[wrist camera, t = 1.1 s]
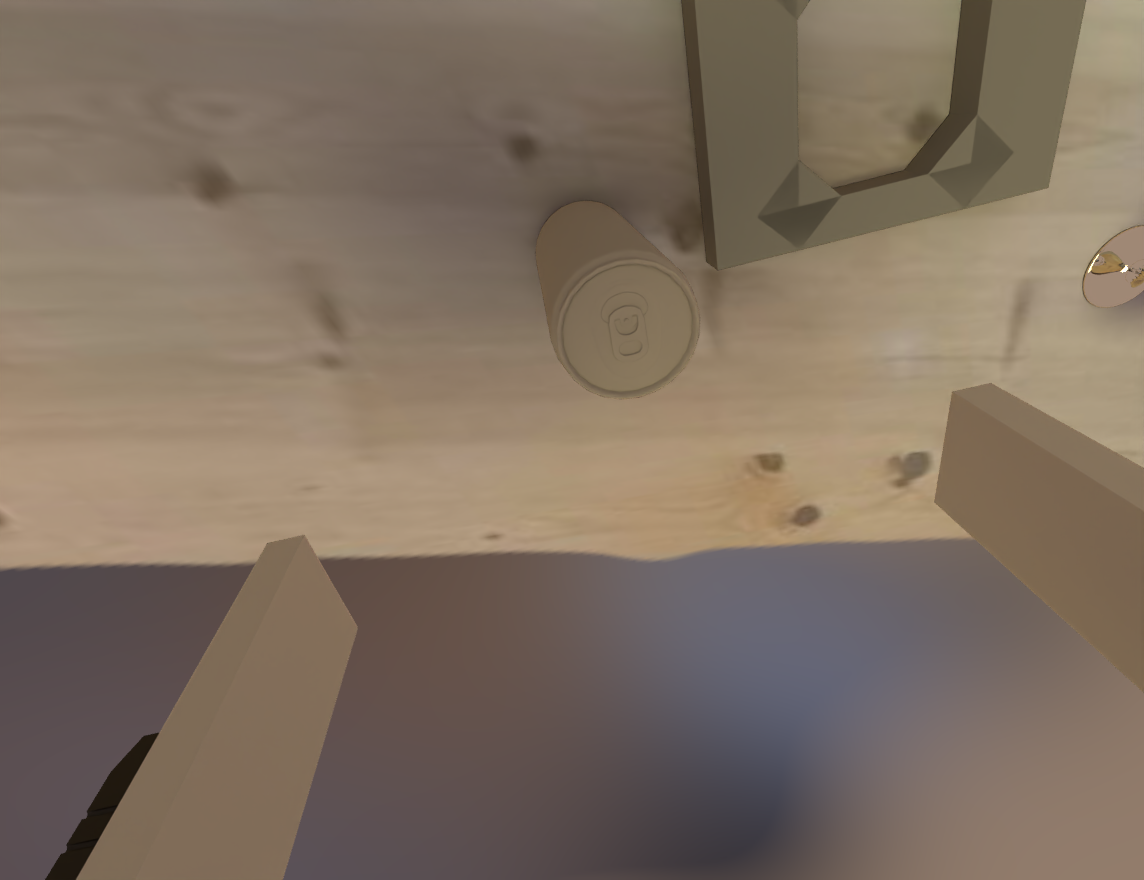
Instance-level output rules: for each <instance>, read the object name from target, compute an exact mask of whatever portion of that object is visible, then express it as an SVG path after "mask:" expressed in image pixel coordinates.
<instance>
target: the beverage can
mask: <svg viewBox="0 0 1144 880" xmlns="http://www.w3.org/2000/svg"><path fill="white" fill-rule="evenodd" d="M535 253H536V262H537V268H538V273H539V279H540V284H541V289H542V294H543V300H544V305H545V311H546V316H547V322H548V327H549V332H550V338H551V342H552V344H553V347H554V350H555V352H556V355H557V357H558V360H559V361H560V362H561V364H562V365H563V366H564V368H565V369H566V370H567V372H568V373H569V374H570V375H571V377H572V378H573V379H574V381H576V382H577V383H578V384H580V385H581V386H582V387H584V388H585V389H586V390H588V391H590V392H592V393H595V394H597V395H600V396H602V397H607V398H614V399H630V398H639V397H642V396H645V395H647V394H650V393H653V392H656V391H657V390H659V389H661V388H662V387H664V386H665V385H667V384H669V383H670V382H672V381H673V380H674V378H675V377H676V376H677V375H678V374H679V373H680V372H681V371H682V370H683V369H684V368H685V366H686V365H687V363H688V362H689V360H690V358H691V357H692V355H693V353H694V351H695V347H696V344H697V341H698V338H699V331H700V314H699V310H698V306H697V301H696V298H695V297H694V292H693V290H692V288H691V286H690V284H689V283H688V281H687V279H686V277H685V275H684V274H683V273H682V272H681V271H680V270H679V269H678V268H677V267H676V266H675V265H674V264H673V263H672V262H671V261H670V260H669V259H668V258H667V257H665V256H664V255H663V254H662V253H661V252H660V251H659V250H658V249H657V248H656V247H654V246H653V245H652V244H651V243H650V242H649V241H648V240H647V239H646V238H645V237H644V236H642V235H641V234H640V233H639V232H638V231H637V230H636V229H635V228H634V227H633V226H632V225H630V224H629V223H628V222H627V221H626V220H625V219H624V218H623V217H622V216H621V215H620V214H618V213H617V212H616V211H615V210H614V209H612V208H610V207H609V206H607V205H605V204H603V203H599V202H594V201H578V202H573V203H571V204H568V205H566V206H563V207H562V208H560V209H559V210H557V211H556V212H555V213H553V214H552V215H551V216H550V217H549V219H548V220H547V221H546V223H545V224H544V225H543V227H542V229H541V231H540V234H539V236H538V238H537V244H536V251H535Z"/></svg>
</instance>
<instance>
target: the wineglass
mask: <svg viewBox="0 0 1144 880" xmlns="http://www.w3.org/2000/svg"><path fill="white" fill-rule="evenodd" d="M1142 291H1144V225H1143V226H1136V227H1133V228H1130V229H1128V230H1125V231H1123V232H1122V233H1120V234H1118V235H1117V236H1115V237H1114V238H1112V239H1111V240H1110V241H1109V242H1107V243H1106V244H1105V245H1104V246H1103V247H1102V248H1101V249H1100V250H1099V251H1098V253H1097V254H1096V255H1095V257H1094V258H1093V259H1092V261H1091V263H1090V264H1089V266H1088V268H1087V271H1086V273H1085V276H1084V281H1083V292H1084V296H1085V298H1086V299H1087V301H1088V302H1089V303H1091V304H1092V305H1094V306H1097V307H1102V308H1109V307H1115V306H1118V305H1121V304H1123V303H1126V302H1128V301H1130V300H1131V299H1133V298H1135V297H1136V296H1137V295H1139V294H1140V293H1141V292H1142Z"/></svg>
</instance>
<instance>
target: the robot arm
mask: <svg viewBox="0 0 1144 880" xmlns="http://www.w3.org/2000/svg"><path fill="white" fill-rule="evenodd" d="M934 502H935V503H936V504H937V505H938V506H939V507H940V508H941V509H942V510H943V511H945V512H946V513H947V514H948V515H949V516H950V517H951V518H952V519H953V520H954V521H956V522H957V523H958V524H959V525H960V526H961V527H962V528H963V529H964V530H965V531H967V532H968V533H969V534H970V535H971V536H972V537H973V538H974V539H975V540H976V541H978V542H979V543H980V544H981V545H982V546H983V547H984V548H985V549H986V550H987V551H989V552H990V553H991V554H992V555H993V556H994V557H995V558H996V559H997V560H998V561H1000V562H1001V563H1002V564H1003V565H1004V566H1005V567H1006V568H1007V569H1008V570H1009V571H1011V572H1012V573H1013V574H1014V575H1015V576H1016V577H1017V578H1018V579H1019V580H1020V581H1022V582H1023V583H1024V584H1025V585H1026V586H1027V587H1028V588H1029V589H1030V590H1031V591H1033V592H1034V593H1035V594H1036V595H1037V596H1038V597H1039V598H1040V599H1041V600H1042V601H1044V602H1045V603H1046V604H1047V605H1048V606H1049V607H1050V608H1051V609H1052V610H1053V611H1055V612H1056V613H1057V614H1058V615H1059V616H1060V617H1061V618H1062V619H1063V620H1064V621H1065V622H1067V623H1068V624H1069V625H1070V626H1071V627H1072V628H1073V629H1074V630H1075V631H1077V632H1078V633H1079V634H1080V635H1081V636H1082V637H1083V638H1084V639H1085V640H1086V641H1087V642H1089V643H1090V644H1091V645H1092V646H1093V647H1094V648H1095V649H1096V650H1097V651H1098V652H1100V653H1101V654H1102V655H1103V656H1104V657H1105V658H1106V659H1107V660H1108V661H1110V662H1111V663H1112V664H1113V665H1114V666H1115V667H1116V668H1117V669H1118V670H1119V671H1121V672H1122V673H1123V674H1124V675H1125V676H1126V677H1127V678H1128V679H1129V680H1130V681H1131V682H1133V683H1134V684H1135V685H1136V686H1137V687H1138V688H1139V689H1140V690H1141V691H1142V692H1143V693H1144V468H1143V467H1141V466H1139V465H1138V464H1136V463H1134V462H1132V461H1130V460H1129V459H1127V458H1125V457H1123V456H1121V455H1120V454H1118V453H1116V452H1114V451H1112V450H1110V449H1109V448H1107V447H1105V446H1103V445H1101V444H1100V443H1098V442H1096V441H1094V440H1092V439H1091V438H1089V437H1087V436H1085V435H1083V434H1082V433H1080V432H1078V431H1076V430H1074V429H1073V428H1071V427H1069V426H1067V425H1065V424H1064V423H1062V422H1060V421H1058V420H1056V419H1055V418H1053V417H1051V416H1049V415H1047V414H1046V413H1044V412H1042V411H1040V410H1038V409H1037V408H1035V407H1033V406H1031V405H1029V404H1028V403H1026V402H1024V401H1022V400H1020V399H1019V398H1017V397H1015V396H1013V395H1011V394H1010V393H1008V392H1006V391H1004V390H1002V389H1001V388H999V387H997V386H995V385H993V384H992V383H989V384H984V385H980V386H975V387H971V388H966V389H962V390H957V391H953V392H952V396H951V402H950V408H949V414H948V421H947V427H946V433H945V439H944V445H943V451H942V457H941V463H940V470H939V476H938V482H937V488H936V494H935V500H934ZM357 629H358V627H357V625H356V624H355V622H354V620H353V618H352V617H351V615H350V613H349V612H348V610H347V608H346V606H345V604H344V603H343V601H342V599H341V598H340V596H339V594H338V592H337V591H336V589H335V587H334V585H333V584H332V582H331V580H330V578H329V577H328V575H327V573H326V572H325V570H324V568H323V566H322V564H321V563H320V561H319V559H318V558H317V556H316V554H315V552H314V551H313V549H312V547H311V545H310V544H309V542H308V540H307V538H306V537H305V535H302V536H297V537H293V538H288V539H283V540H279V541H274V542H270V543H267V545H266V546H265V548H264V550H263V552H262V554H261V555H260V557H259V559H258V561H257V562H256V564H255V566H254V568H253V569H252V571H251V573H250V575H249V576H248V578H247V580H246V582H245V583H244V585H243V587H242V589H241V591H240V592H239V594H238V596H237V598H236V599H235V601H234V603H233V605H232V606H231V608H230V610H229V612H228V614H227V615H226V617H225V619H224V620H223V622H222V624H221V626H220V627H219V629H218V631H217V633H216V635H215V636H214V638H213V640H212V642H211V644H210V645H209V647H208V648H207V650H206V652H205V654H204V655H203V657H202V659H201V661H200V663H199V664H198V666H197V668H196V670H195V671H194V673H193V675H192V677H191V678H190V680H189V682H188V684H187V686H186V687H185V689H184V691H183V693H182V694H181V696H180V698H179V700H178V701H177V703H176V705H175V707H174V708H173V710H172V712H171V714H170V716H169V717H168V719H167V721H166V722H165V724H164V726H163V728H162V729H161V731H160V733H155V734H151V735H146V736H144V737H142V739H141V740H140V741H139V742H138V743H137V744H136V745H135V746H134V747H133V748H132V749H131V751H130V752H129V753H128V754H127V755H126V756H125V757H124V758H123V759H122V760H121V761H120V763H119V764H118V765H117V766H116V767H115V768H114V769H113V770H112V771H111V773H110V774H109V776H108V777H107V779H106V781H105V782H104V784H103V786H102V787H101V789H100V791H99V792H98V794H97V796H96V797H95V799H94V801H93V802H92V804H91V806H90V807H89V809H88V810H87V813H88V816H87V818H86V819H82V820H81V822H80V824H79V825H78V827H77V828H76V830H75V832H74V833H73V835H72V837H71V838H70V840H69V842H68V843H67V851H66V852H65V853H63V854H61V855H60V857H59V858H58V860H57V861H56V863H55V865H54V866H53V868H52V869H51V871H50V873H49V874H48V876H47V878H46V879H45V880H283V877H284V874H285V870H286V867H287V864H288V860H289V857H290V854H291V850H292V847H293V843H294V840H295V836H296V833H297V830H298V826H299V823H300V819H301V817H302V813H303V809H304V806H305V803H306V800H307V796H308V793H309V790H310V786H311V783H312V780H313V776H314V773H315V770H316V766H317V763H318V759H319V756H320V753H321V750H322V746H323V743H324V739H325V736H326V733H327V729H328V726H329V723H330V719H331V716H332V713H333V709H334V706H335V703H336V699H337V695H338V692H339V689H340V686H341V682H342V679H343V676H344V672H345V669H346V665H347V662H348V659H349V656H350V652H351V649H352V645H353V642H354V639H355V635H356V632H357Z"/></svg>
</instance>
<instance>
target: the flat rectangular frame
mask: <svg viewBox="0 0 1144 880" xmlns="http://www.w3.org/2000/svg"><path fill="white" fill-rule="evenodd" d="M809 1H810V0H682V11H683V21H684V32H685V42H686V53H687V63H688V73H689V84H690V94H691V105H692V115H693V126H694V136H695V147H696V157H697V168H698V178H699V189H700V199H701V209H702V220H703V230H704V241H705V251H706V262H707V263H709V264H710V265H711V266H713V267H714V268H715V269H716V270H722V269H726V268H730V267H734V266H738V265H742V264H746V263H750V262H754V261H758V260H762V259H766V258H770V257H774V256H778V255H782V254H786V253H790V252H794V251H798V250H802V249H806V248H810V247H814V246H818V245H822V244H826V243H830V242H834V241H838V240H842V239H846V238H850V237H854V236H858V235H862V234H866V233H870V232H874V231H878V230H882V229H886V228H890V227H894V226H898V225H902V224H906V223H910V222H914V221H918V220H922V219H926V218H930V217H934V216H938V215H942V214H946V213H950V212H954V211H958V210H962V209H966V208H970V207H974V206H978V205H982V204H986V203H990V202H994V201H998V200H1002V199H1006V198H1010V197H1014V196H1018V195H1022V194H1026V193H1030V192H1034V191H1038V190H1042V189H1046V188H1048V187H1049V182H1050V177H1051V172H1052V167H1053V162H1054V157H1055V152H1056V148H1057V143H1058V138H1059V133H1060V128H1061V123H1062V118H1063V113H1064V108H1065V103H1066V98H1067V93H1068V88H1069V83H1070V78H1071V73H1072V68H1073V63H1074V58H1075V53H1076V48H1077V43H1078V39H1079V34H1080V29H1081V24H1082V19H1083V14H1084V9H1085V4H1086V0H962V7H961V17H960V26H959V35H958V44H957V53H956V62H955V71H954V80H953V89H952V98H951V107H950V115H949V116H948V117H947V118H946V119H945V121H944V122H943V123H942V124H941V126H940V127H939V128H938V129H937V131H936V132H935V133H934V134H933V136H932V137H931V138H930V139H929V141H928V142H927V143H926V144H925V145H924V147H923V148H922V149H921V150H920V152H919V153H918V154H917V155H916V157H915V158H914V159H913V160H912V162H911V163H910V164H909V165H908V167H907V168H906V169H905V170H904V171H900V172H896V173H892V174H889V175H885V176H881V177H877V178H873V179H869V180H865V181H861V182H857V183H853V184H849V185H845V186H841V187H837V188H831V187H830V186H829V185H828V184H827V183H825V182H824V181H823V180H822V179H821V178H819V177H818V176H817V175H816V174H815V173H814V172H812V171H811V170H810V169H809V168H808V167H806V166H805V165H804V164H803V163H802V162H800V161H799V151H798V59H797V19H798V18H799V16H800V15H801V13H802V12H803V10H804V9H805V7H806V6H807V4H808V3H809Z"/></svg>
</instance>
